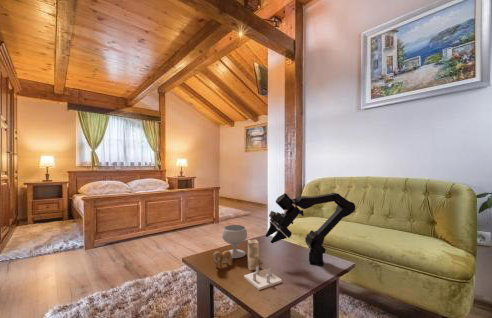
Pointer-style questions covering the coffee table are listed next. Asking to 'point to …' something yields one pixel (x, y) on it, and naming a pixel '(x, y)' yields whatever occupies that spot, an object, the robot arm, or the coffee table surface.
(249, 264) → the birch post
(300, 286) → the coffee table surface
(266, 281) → the peg stand
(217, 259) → the lion figurine
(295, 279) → the coffee table surface
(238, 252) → the chalice
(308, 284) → the coffee table surface
